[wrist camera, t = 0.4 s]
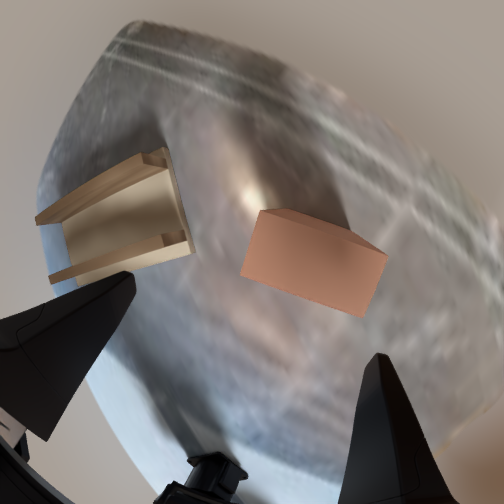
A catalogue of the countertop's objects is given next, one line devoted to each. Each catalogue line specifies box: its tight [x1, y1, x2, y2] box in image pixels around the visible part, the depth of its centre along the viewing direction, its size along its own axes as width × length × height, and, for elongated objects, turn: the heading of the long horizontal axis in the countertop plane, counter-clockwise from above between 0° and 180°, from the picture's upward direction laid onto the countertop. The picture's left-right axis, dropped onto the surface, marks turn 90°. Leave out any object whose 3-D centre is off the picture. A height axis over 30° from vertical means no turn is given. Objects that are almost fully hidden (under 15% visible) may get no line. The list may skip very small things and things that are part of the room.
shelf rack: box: [35, 147, 195, 286], centre depth 24 cm, size 10×16×5 cm, turn 106°
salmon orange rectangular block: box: [240, 208, 388, 318], centre depth 17 cm, size 3×6×12 cm, turn 73°
